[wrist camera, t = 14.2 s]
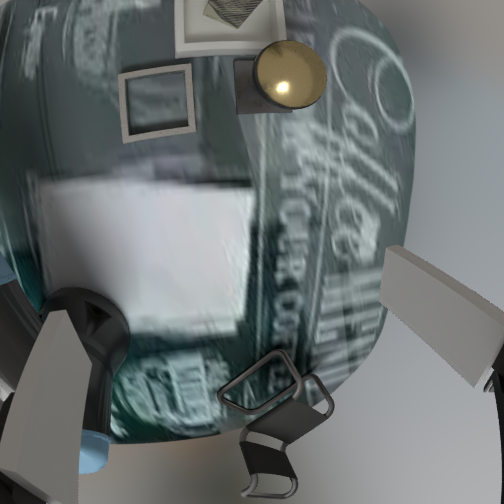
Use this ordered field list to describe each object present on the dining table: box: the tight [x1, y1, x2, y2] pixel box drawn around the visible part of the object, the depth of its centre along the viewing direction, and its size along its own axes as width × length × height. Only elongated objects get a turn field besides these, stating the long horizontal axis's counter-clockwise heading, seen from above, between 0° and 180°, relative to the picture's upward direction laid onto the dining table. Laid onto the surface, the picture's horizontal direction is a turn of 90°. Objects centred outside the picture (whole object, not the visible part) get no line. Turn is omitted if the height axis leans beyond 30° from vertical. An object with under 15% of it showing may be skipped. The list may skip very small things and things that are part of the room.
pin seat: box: [118, 64, 196, 144], centre depth 28 cm, size 8×8×2 cm
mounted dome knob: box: [233, 40, 327, 114], centre depth 27 cm, size 7×7×10 cm
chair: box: [217, 349, 335, 499], centre depth 42 cm, size 13×17×22 cm
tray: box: [174, 0, 287, 59], centre depth 25 cm, size 13×13×3 cm
